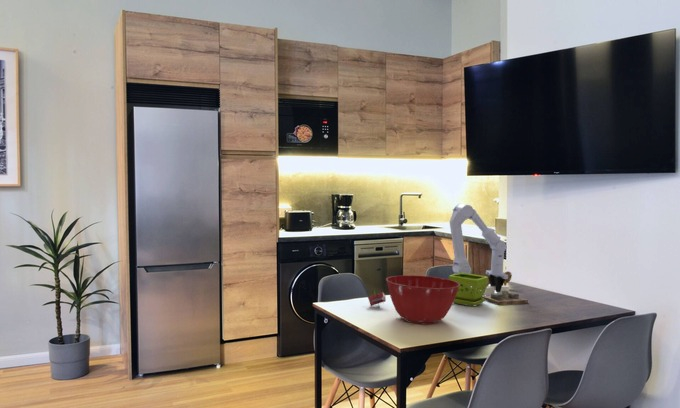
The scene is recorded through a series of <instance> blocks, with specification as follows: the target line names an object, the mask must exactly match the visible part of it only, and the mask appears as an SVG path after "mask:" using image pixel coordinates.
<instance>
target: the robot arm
mask: <svg viewBox="0 0 680 408" xmlns="http://www.w3.org/2000/svg"><path fill="white" fill-rule="evenodd" d="M467 220H471V221H472V223H474V224H475V225H476V227H477V228H478V229H479V230H480V231H481V236H482V237H483V239H484V240H485V241H486V242H487V243H488V244H489V248H490V249H491V262H490V263H491V264H490V270H487V269H486V270H485V274H486V275H487V276H486V277H488V279H489V282H490V284H489V286H496V290H495V292H496V293H497V292H500V291H501V288H502V285H503V286H504V284H503V283H504V282H505V280H506V279H508V275H506V274H505V272H504V257H505V256H504V255H505V251H506V250H507V245H506V242H505V241H504V240H501V236H499V235H498V234H497V233H496V232H495V231H496V230H495V228H492V227H488V226H487V225H486V223H485V221H483V219H482V218H481V216H480V215H479V214H478V213H477V210H475V209H474V207H473V206H471V205H469V204H463V203H459V204H457V205H455V207H453V209H452V214H451V216H450V220H449V228H450V233H451V235H450V236H451V241H452V248H453V249H452V250H453V255H454V258H453V260H452V262H453V263H452V267H451V268H452V271H453V274H457V273H467V274H472V267H471V266H470V263H469V260H468V258H467V256H466V250H465V243H464V242H465V241H464V237H463V228H462V225H463V223H464V222H465V221H467Z"/></svg>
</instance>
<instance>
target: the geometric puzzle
mask: <svg viewBox="0 0 680 408" xmlns="http://www.w3.org/2000/svg"><path fill="white" fill-rule="evenodd" d="M386 297H387V296H386V295H385V293H384V292H383V291H381V292H377V291H373V294H372V293H371V294H370V295H368V296H367V299H368V302H369V305H370V307H373V306H374V307H376V306H377V307H378V308H380V307H381V306H380V305H382V304H384V303H385V302H386Z"/></svg>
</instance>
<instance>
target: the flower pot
mask: <svg viewBox="0 0 680 408" xmlns="http://www.w3.org/2000/svg"><path fill="white" fill-rule="evenodd" d="M448 279H449V280H452V281H455V282H458V283H459V284H460V286H459V287H458V291H457V294H456V297H455V299H454V302H453V304H456V305H457V304H458V305H464V306H469V307H475V306H478V305H482V304H483V303H484V302H485V299H483V298H482V297H483V296H485V295H484V293H485V290H486V287H487V283H488V277H487V276H486V275H479V274H474V273H471V274H467V273H457V274H454V273H453V274H450V275H448Z"/></svg>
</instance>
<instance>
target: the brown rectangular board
mask: <svg viewBox="0 0 680 408" xmlns="http://www.w3.org/2000/svg"><path fill="white" fill-rule="evenodd" d="M482 298H483V299H485V300H484V302H489V303H491V304H495V305H497V306H502V305H503V306H506V305H519V304H520V305H523V304H528V303H529V299H527V298H522V297H520V294H519V293H516V292H510V290H509V291H507V290H502V294H499V293H497V292H496V293H495V292H494V293H492V294H491V296H485V295H483V297H482Z"/></svg>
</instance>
